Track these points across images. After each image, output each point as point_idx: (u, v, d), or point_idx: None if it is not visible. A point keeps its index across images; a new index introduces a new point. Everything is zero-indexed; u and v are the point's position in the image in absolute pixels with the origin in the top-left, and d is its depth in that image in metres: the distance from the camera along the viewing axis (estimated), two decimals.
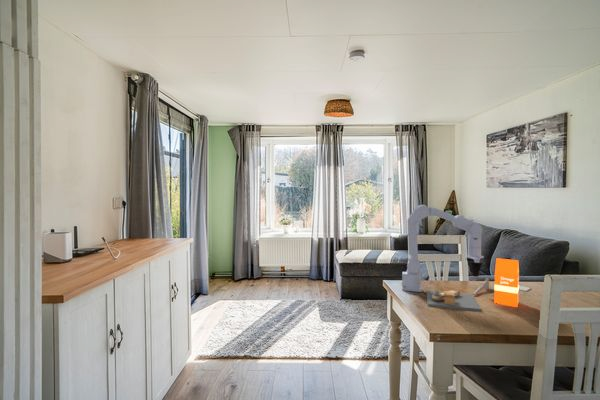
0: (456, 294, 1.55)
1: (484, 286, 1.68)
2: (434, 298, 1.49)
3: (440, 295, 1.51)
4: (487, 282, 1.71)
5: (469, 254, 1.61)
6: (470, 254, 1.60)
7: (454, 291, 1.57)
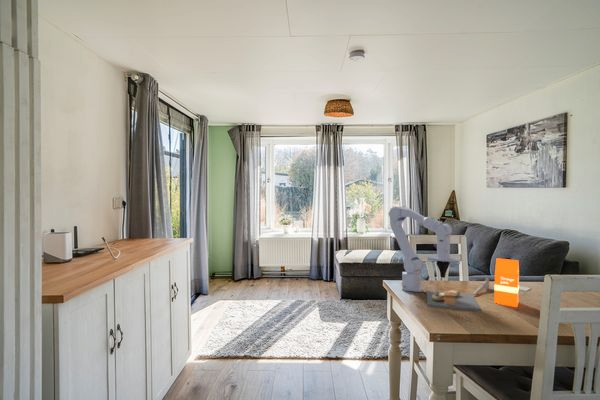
0: (456, 294, 1.55)
1: (484, 286, 1.68)
2: (434, 298, 1.49)
3: (440, 295, 1.51)
4: (487, 282, 1.71)
5: None
6: None
7: (454, 291, 1.57)
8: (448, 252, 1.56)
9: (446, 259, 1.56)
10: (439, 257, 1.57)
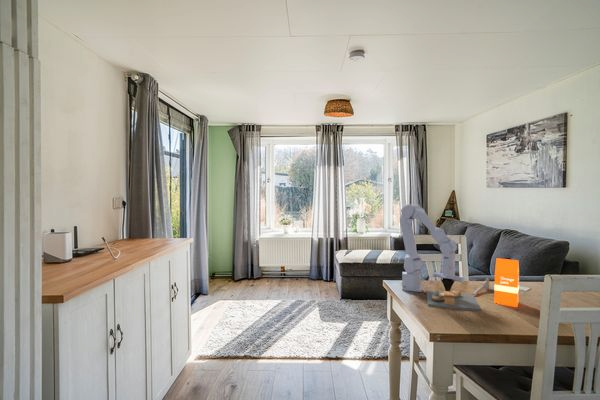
0: (457, 294, 1.55)
1: (484, 286, 1.68)
2: (434, 298, 1.49)
3: (440, 295, 1.51)
4: (487, 282, 1.71)
5: None
6: None
7: (455, 291, 1.56)
8: (452, 269, 1.54)
9: (449, 276, 1.54)
10: (443, 274, 1.56)
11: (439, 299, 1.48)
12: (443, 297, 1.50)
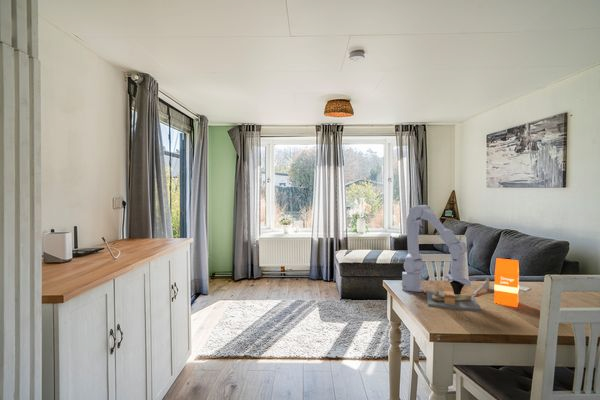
0: (465, 298, 1.50)
1: (484, 286, 1.68)
2: (432, 297, 1.50)
3: (441, 296, 1.50)
4: (487, 282, 1.71)
5: None
6: None
7: (464, 295, 1.51)
8: (459, 272, 1.50)
9: (456, 279, 1.50)
10: (451, 276, 1.53)
11: (437, 299, 1.48)
12: (443, 298, 1.49)
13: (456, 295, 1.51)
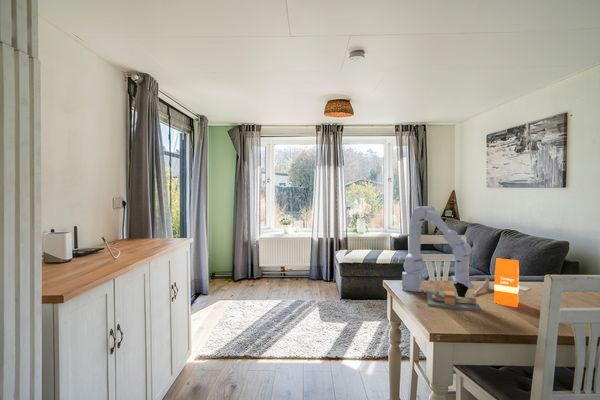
0: (467, 301, 1.45)
1: (484, 286, 1.68)
2: (432, 297, 1.51)
3: (441, 296, 1.49)
4: (487, 282, 1.71)
5: None
6: None
7: (467, 298, 1.46)
8: (462, 274, 1.47)
9: (459, 280, 1.47)
10: (454, 277, 1.50)
11: (435, 299, 1.49)
12: (443, 298, 1.48)
13: (458, 297, 1.47)
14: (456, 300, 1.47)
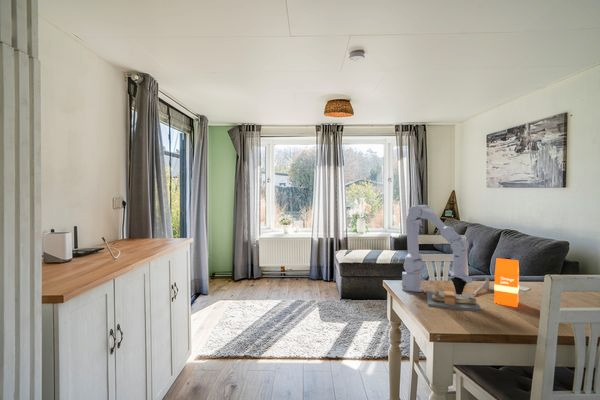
0: (467, 301, 1.45)
1: (484, 286, 1.68)
2: (432, 297, 1.51)
3: (441, 296, 1.49)
4: (487, 282, 1.71)
5: None
6: None
7: (467, 298, 1.46)
8: (460, 268, 1.49)
9: (457, 275, 1.49)
10: (452, 272, 1.52)
11: (435, 299, 1.49)
12: (443, 298, 1.48)
13: (458, 297, 1.47)
14: (456, 300, 1.47)
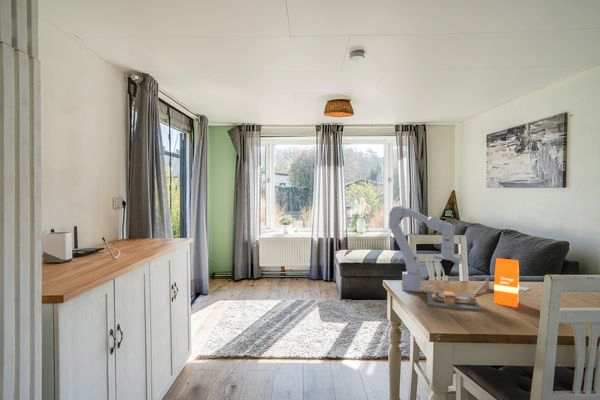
0: (467, 301, 1.45)
1: (484, 286, 1.68)
2: (432, 297, 1.51)
3: (441, 296, 1.49)
4: (487, 282, 1.71)
5: None
6: None
7: (467, 298, 1.46)
8: (450, 251, 1.60)
9: (448, 258, 1.60)
10: (442, 255, 1.62)
11: (435, 299, 1.49)
12: (443, 298, 1.48)
13: (458, 297, 1.47)
14: (456, 300, 1.47)
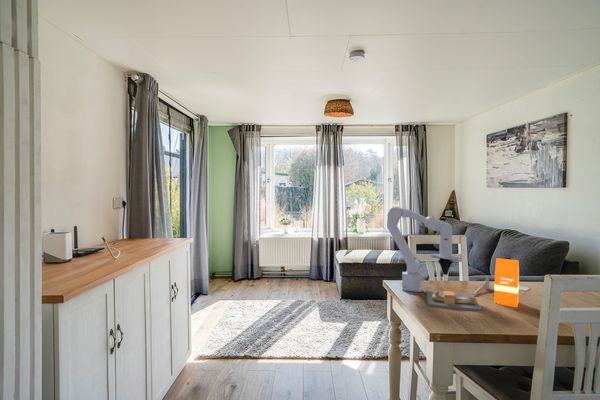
0: (467, 301, 1.45)
1: (484, 286, 1.68)
2: (432, 297, 1.51)
3: (441, 296, 1.49)
4: (487, 282, 1.71)
5: None
6: None
7: (467, 298, 1.46)
8: (449, 250, 1.62)
9: (446, 257, 1.61)
10: (440, 254, 1.64)
11: (435, 299, 1.49)
12: (443, 298, 1.48)
13: (458, 297, 1.47)
14: (456, 300, 1.47)
